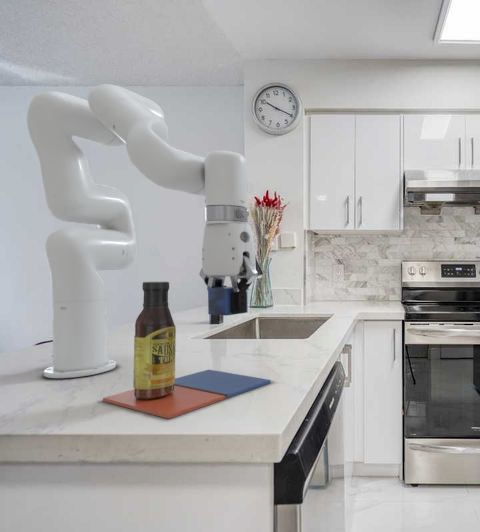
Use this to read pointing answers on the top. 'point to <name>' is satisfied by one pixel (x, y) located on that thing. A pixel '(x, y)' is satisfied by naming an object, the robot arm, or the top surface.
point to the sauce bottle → (154, 344)
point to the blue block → (221, 301)
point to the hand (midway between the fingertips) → (228, 311)
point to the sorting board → (190, 393)
